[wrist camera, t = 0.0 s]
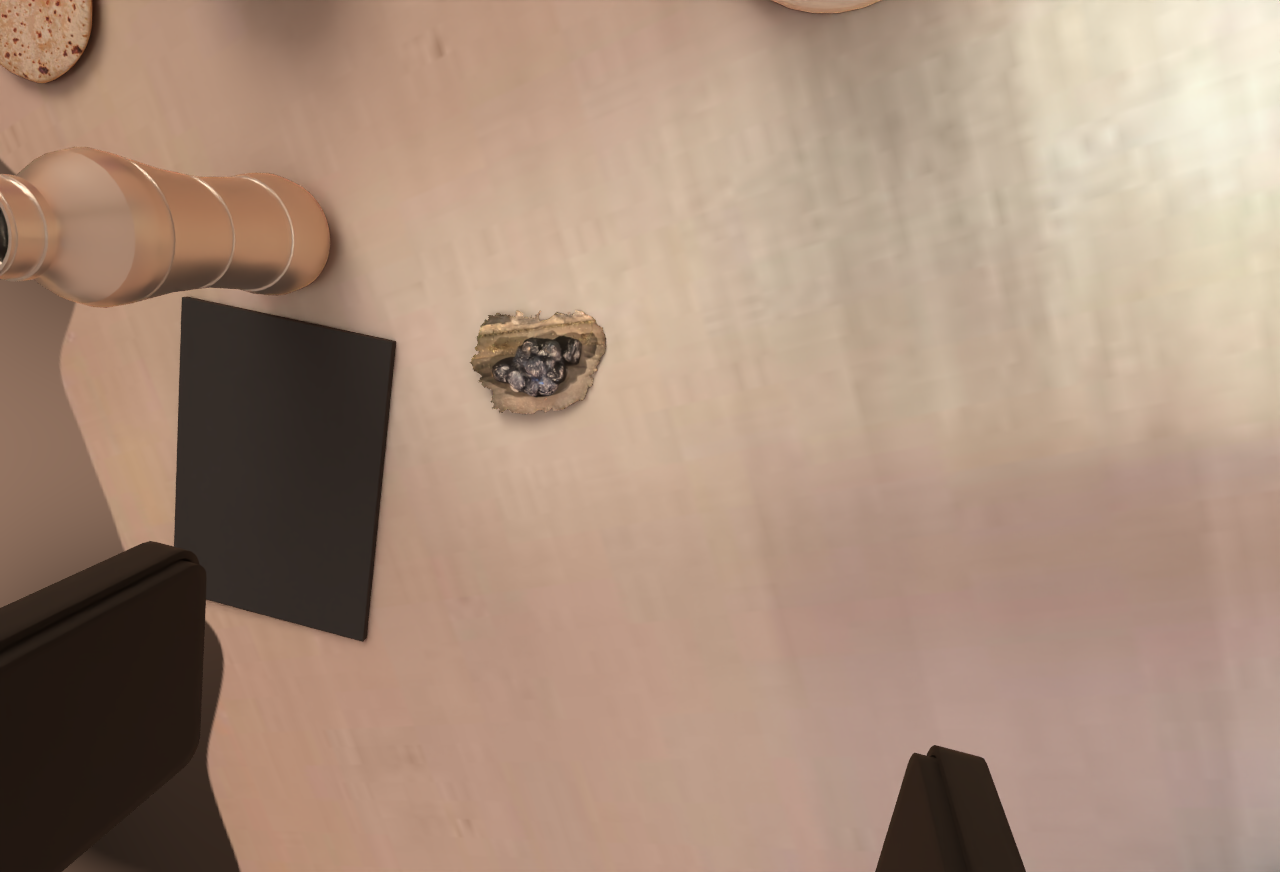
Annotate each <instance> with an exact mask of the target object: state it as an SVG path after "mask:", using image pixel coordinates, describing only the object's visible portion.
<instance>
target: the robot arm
mask: <svg viewBox="0 0 1280 872" xmlns="http://www.w3.org/2000/svg"><path fill="white" fill-rule="evenodd" d="M772 1H774V2H777V3H779V4H781V5H783V6H786V7H788V8H790V9H795V10H800V11H805V12H811V13H841V12H846V11H850V10H855V9H860V8H864V7H866V6H869V5H871V4H874V3H876V2H878V1H881V0H772ZM206 584H207V576H206V571H205V569H204V567H202V566H201V565H199V560H198V558H197V556H196V555H195V554H194V553H193V552H192V551H188V550H184V549H181V548H177V547H173V546H169V545H165V544H161V543H158V542H152V541H149V542H145V543H142V544H140V545H138V546H135V547H133V548H131V549H129V550H127V551H125V552H122V553H120V554H118V555H116V556H114V557H111V558H109V559H107V560H105V561H103V562H100V563H98V564H96V565H94V566H92V567H90V568H87V569H85V570H83V571H81V572H79V573H76V574H74V575H72V576H70V577H68V578H65V579H63V580H61V581H59V582H57V583H54V584H52V585H50V586H48V587H46V588H43V589H41V590H39V591H37V592H35V593H33V594H30V595H29V596H26V597H24V598H22V599H19V600H17V601H15V602H13V603H11V604H8V605H6V606H4V607H2V608H0V872H62V871H63V870H64V869H65V868H67V867H68V866H69V865H70V864H71V863H73V862H74V861H75V860H76V859H77V858H78V857H79V856H81V855H82V854H83V853H84V852H85V851H87V850H88V849H89V848H90V847H91V846H92V845H94V844H95V843H96V842H97V841H98V840H100V839H101V838H102V837H103V836H104V835H105V834H107V833H108V832H109V831H110V830H111V829H112V828H114V827H115V826H116V825H117V824H118V823H119V822H121V821H122V820H123V819H124V818H125V817H127V816H128V815H129V814H130V813H131V812H132V811H134V810H135V809H136V808H137V807H138V806H139V805H141V804H142V803H143V802H144V801H145V800H146V799H148V798H149V797H150V796H151V795H152V794H154V793H155V792H156V791H157V790H158V789H159V788H161V787H162V786H163V785H164V784H165V783H166V782H168V781H169V780H170V779H171V778H172V777H173V776H175V775H176V774H177V773H178V772H179V771H180V770H181V769H183V768H184V767H185V766H186V765H187V764H188V763H189V761H190V760H191V758H192V757H193V755H194V753H195V751H196V749H197V746H198V744H199V739H200V723H201V699H202V677H203V654H204V652H203V651H204V630H205V607H206ZM875 872H1026V870H1025V868H1024V865H1023V862H1022V859H1021V857H1020V854H1019V851H1018V848H1017V846H1016V843H1015V840H1014V837H1013V835H1012V832H1011V829H1010V826H1009V824H1008V821H1007V818H1006V815H1005V813H1004V810H1003V807H1002V804H1001V802H1000V799H999V796H998V793H997V790H996V788H995V785H994V782H993V779H992V777H991V774H990V771H989V768H988V766H987V763H986V762H985V760H984V758H981V757H978V756H975V755H971V754H967V753H963V752H959V751H955V750H952V749H948V748H944V747H940V746H936V745H934V746H932V747H931V748H930V750H929V751H928V753H927V756H925V755H921V754H917V753H914V754H912V756H911V758H910V760H909V763H908V766H907V769H906V772H905V776H904V779H903V782H902V785H901V789H900V792H899V795H898V799H897V802H896V805H895V809H894V812H893V815H892V818H891V822H890V825H889V828H888V832H887V835H886V838H885V841H884V845H883V848H882V851H881V855H880V858H879V861H878V865H877V868H876V871H875Z"/></svg>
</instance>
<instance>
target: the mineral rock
mask: <svg viewBox="0 0 1280 872" xmlns="http://www.w3.org/2000/svg"><path fill="white" fill-rule="evenodd" d="M516 311H517V310H516ZM540 312H541V311H539V313H538V314H537V315H535V316H536V318H535V319H534V318H532V317H531V316H532V315H531V316H530V319H529V318H528V317H524V318H523V317H522V315H523V313H521V312H520V311H517V312H516V317H515V316H514V317H513V316H512V317H511V316H510V315H508V316H507V315H501V314H500V313H496V315H495V316H493V315H492V316H491V315H488V316H489V317H488V318H489V319H488V320H485V323H483V324H482V325H481V329H480V332H479V335H478V336H479V337H478V336H477V341H478V344H477V346H476V347H475V349H476V351H479V354H478V355H476V354H475V355H474V356H473V358H472V359H471V360H472V361H471V362H470V363H471V364H472V366H473V370H474V371H476V372H477V373H480V374H481V375H482V377H481V378H480V380H479V382H482V385H483V386H484V388H485V387H486V386H487V388H488V389H491V390H492V391H493V396H492V401H491V403H492V402H493V403H494V406H493V407H492V409H493V408H494V409H495V408H496V409H498V408H499V409H500V411H499V413H500V412H501V413H503V411H505V410H506V409H507V410H508V409H509V410H510V411H511V412H512V413H513V412H515V413H516V412H517V413H522V414H526V413H531V414H534V413H535V412H536V411H537V410H543V409H544V412H545V413H546V412H547V411H549V410H550V409H551V408H553V410H554V411H555V410H561V409H563V408H564V409H565V408H566V407H568V406H570V404H571V403H572V404H574V403H575V402H576V401H578V400H579V401H580V400H581V401H582V400H584V399H585V398H584V397H585V396H586V395H585V394H586V392H587V389H588V387H589V388H590V387H591V386H592V385H593V384H592V382H593V381H592V380H593V378H591V377H590V374H593V371H595V372H596V371H597V369H596V365H598V364H599V361H600V359H601V356H602V355H603V354H604V353H605V347H606V346H605V345H604V344H605V340H606V338H605V334H604V333H603V332H602V331H603V330H602V329H603V327H602V328H601V327H600V326H598V325H597V324H596V320H595V319H594V318H593V317H591V316H588V315H585V314H584V312H583V311H581V312H578V311H577V310H576V312H575V313H574V314H573V315H572V316H571V315H570V313H569V312H568V315H567V314H566V315H565V314H562V313H560V314H558V312H557V313H555V314H554V315H553V316H552V317H551V318H549V319H548V320H547V319H546V320H542V321H540V320H539V319H538V318H539V315H540ZM546 398H547V399H546ZM545 399H546V400H545ZM544 400H545V401H544Z"/></svg>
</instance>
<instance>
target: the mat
mask: <svg viewBox="0 0 1280 872" xmlns="http://www.w3.org/2000/svg"><path fill="white" fill-rule="evenodd" d="M395 346H396V341H392V340H387V339H383V338H378V337H373V336H369V335H364V334H359V333H354V332H350V331H345V330H340V329H336V328H331V327H326V326H322V325H317V324H312V323H308V322H303V321H298V320H294V319H289V318H284V317H280V316H275V315H270V314H265V313H261V312H256V311H251V310H247V309H242V308H237V307H233V306H228V305H223V304H219V303H214V302H209V301H205V300H200V299H195V298H191V297H182V312H181V344H180V376H179V408H178V440H177V472H176V504H175V536H174V547H177V548H181V549H184V550H188V551H192V552H193V553H194V554H195V555H196V556H197V558H198V560H199V565H201V566H202V567H204V569H205V571H206V576H207V584H206V600H210V601H214V602H217V603H221V604H225V605H229V606H232V607H236V608H240V609H243V610H247V611H251V612H255V613H258V614H262V615H266V616H269V617H273V618H277V619H281V620H284V621H288V622H292V623H296V624H299V625H303V626H307V627H310V628H314V629H318V630H322V631H325V632H329V633H333V634H336V635H340V636H344V637H348V638H351V639H355V640H359V641H364V640H365V639H366V636H367V626H368V616H369V606H370V596H371V586H372V576H373V566H374V556H375V546H376V536H377V526H378V516H379V506H380V496H381V486H382V476H383V466H384V456H385V446H386V436H387V426H388V416H389V406H390V396H391V386H392V376H393V366H394V356H395Z"/></svg>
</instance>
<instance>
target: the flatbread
mask: <svg viewBox="0 0 1280 872" xmlns="http://www.w3.org/2000/svg"><path fill="white" fill-rule="evenodd" d="M91 27H92V0H0V64H1V65H2V66H3V67H5V68H6V69H7V70H9V71H10V72H12V73H14V74H16V75H19V76H21V77H23V78H26V79H28V80H31V81H34V82H38V83H45V82H49V81H52V80H55V79H57V78H58V77H60V76H61V75H63V74H64V73H66V72H67V71H68V70H69V69H70V68H71V67H72V66H73V65H74V64H75V63H76V62H77V61H78V59H79V58H80V57H81V55H82V53H83V52H84V50H85V48H86V46H87V43H88V40H89V37H90V33H91Z"/></svg>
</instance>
